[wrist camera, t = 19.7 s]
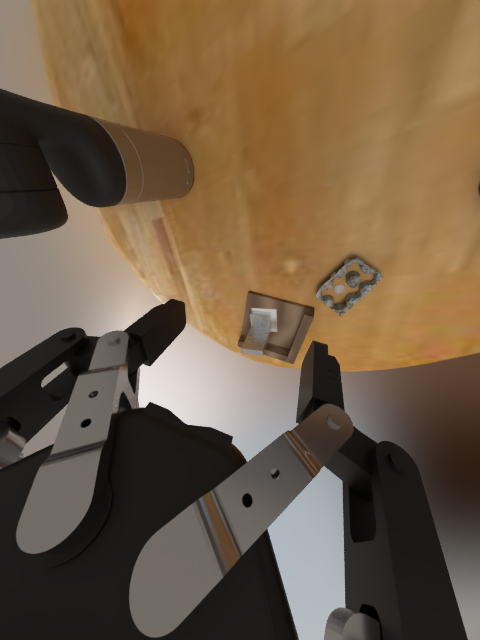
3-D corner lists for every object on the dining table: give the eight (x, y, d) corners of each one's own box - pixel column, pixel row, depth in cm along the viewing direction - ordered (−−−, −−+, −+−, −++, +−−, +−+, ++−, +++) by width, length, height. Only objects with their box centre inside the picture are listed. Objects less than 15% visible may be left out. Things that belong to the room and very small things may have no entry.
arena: (241, 337, 58) (237, 346, 55) (249, 290, 48) (244, 298, 45) (294, 353, 55) (293, 364, 52) (314, 307, 45) (313, 317, 42)
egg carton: (337, 308, 44) (339, 318, 41) (312, 288, 43) (311, 297, 40) (383, 274, 37) (389, 283, 34) (354, 249, 36) (357, 256, 33)
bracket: (251, 311, 50) (238, 334, 42) (270, 312, 48) (260, 337, 41) (253, 328, 53) (242, 353, 45) (271, 329, 51) (262, 355, 44)
